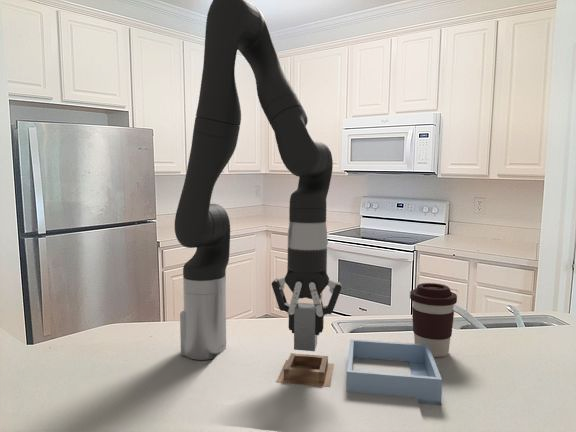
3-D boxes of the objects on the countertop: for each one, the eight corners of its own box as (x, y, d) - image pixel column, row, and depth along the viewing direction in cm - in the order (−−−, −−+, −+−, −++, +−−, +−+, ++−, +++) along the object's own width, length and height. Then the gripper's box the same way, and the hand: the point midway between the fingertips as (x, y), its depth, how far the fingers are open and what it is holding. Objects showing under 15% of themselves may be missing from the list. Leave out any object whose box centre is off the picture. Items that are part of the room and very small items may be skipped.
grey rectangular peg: (293, 349, 79) (294, 308, 79) (297, 341, 83) (297, 302, 83) (314, 351, 79) (315, 309, 78) (317, 343, 83) (317, 303, 82)
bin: (346, 396, 74) (346, 371, 74) (349, 359, 90) (350, 339, 89) (441, 405, 71) (442, 379, 71) (427, 365, 87) (428, 344, 86)
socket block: (276, 387, 77) (276, 371, 77) (286, 364, 87) (286, 350, 87) (330, 392, 75) (330, 376, 75) (334, 368, 85) (334, 354, 85)
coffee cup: (400, 351, 94) (402, 286, 93) (420, 340, 101) (422, 279, 100) (444, 364, 87) (446, 294, 86) (462, 351, 94) (464, 285, 93)
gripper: (266, 246, 77) (265, 337, 78) (343, 249, 74) (341, 343, 76) (275, 241, 84) (274, 324, 86) (345, 243, 82) (343, 329, 83)
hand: (306, 332), depth 81 cm, fingers closed on grey rectangular peg, 4 cm apart
